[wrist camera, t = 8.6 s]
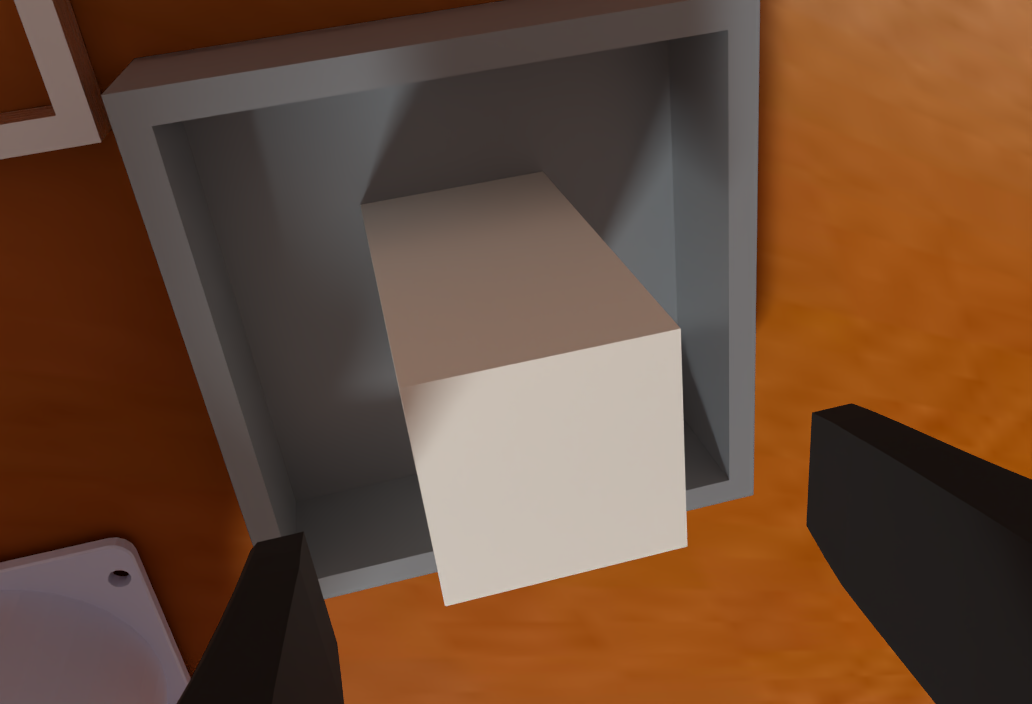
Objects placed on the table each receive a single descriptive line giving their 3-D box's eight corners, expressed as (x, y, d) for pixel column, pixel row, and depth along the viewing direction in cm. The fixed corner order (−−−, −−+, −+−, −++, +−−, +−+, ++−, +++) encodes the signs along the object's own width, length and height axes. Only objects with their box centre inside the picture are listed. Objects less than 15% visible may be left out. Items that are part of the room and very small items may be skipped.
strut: (559, 332, 21) (687, 546, 14) (394, 367, 21) (445, 606, 14) (542, 171, 20) (680, 328, 13) (360, 204, 19) (399, 387, 12)
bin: (695, 418, 24) (753, 494, 21) (277, 514, 23) (274, 611, 20) (684, -28, 19) (760, -12, 16) (134, 57, 17) (100, 95, 14)
